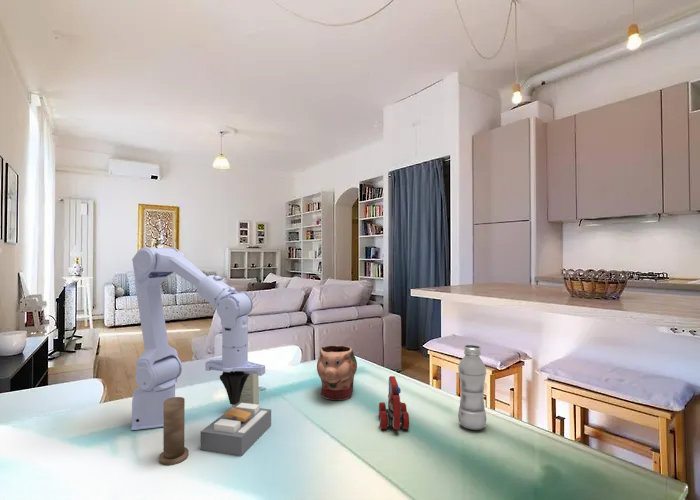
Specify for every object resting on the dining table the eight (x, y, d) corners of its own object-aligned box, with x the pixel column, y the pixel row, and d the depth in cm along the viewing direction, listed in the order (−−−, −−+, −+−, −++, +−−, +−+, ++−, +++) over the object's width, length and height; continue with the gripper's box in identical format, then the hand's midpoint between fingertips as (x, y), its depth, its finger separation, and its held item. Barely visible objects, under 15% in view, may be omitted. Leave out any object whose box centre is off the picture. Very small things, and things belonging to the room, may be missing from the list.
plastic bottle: (488, 435, 88) (489, 351, 88) (458, 432, 90) (459, 349, 89) (484, 422, 95) (484, 344, 94) (456, 419, 96) (457, 342, 96)
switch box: (200, 449, 81) (200, 425, 81) (235, 420, 95) (235, 399, 95) (241, 456, 79) (241, 430, 79) (271, 425, 92) (271, 403, 92)
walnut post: (156, 467, 75) (156, 407, 75) (162, 452, 80) (162, 397, 80) (186, 463, 76) (186, 404, 76) (190, 448, 82) (190, 394, 82)
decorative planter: (321, 380, 124) (321, 338, 124) (357, 381, 123) (357, 339, 123) (312, 406, 104) (312, 356, 104) (356, 407, 103) (356, 357, 103)
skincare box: (259, 408, 102) (259, 364, 102) (253, 415, 98) (253, 369, 98) (237, 407, 103) (237, 363, 103) (230, 414, 98) (230, 368, 98)
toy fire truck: (381, 436, 88) (381, 392, 88) (378, 412, 100) (378, 374, 100) (411, 436, 88) (411, 392, 88) (404, 413, 100) (404, 374, 100)
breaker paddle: (224, 419, 86) (225, 413, 86) (231, 413, 89) (232, 407, 89) (243, 425, 85) (244, 418, 85) (250, 419, 88) (251, 412, 88)
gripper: (197, 347, 85) (196, 406, 85) (254, 351, 81) (254, 413, 81) (215, 339, 92) (215, 394, 92) (269, 343, 88) (269, 400, 88)
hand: (234, 402), depth 87 cm, fingers closed
